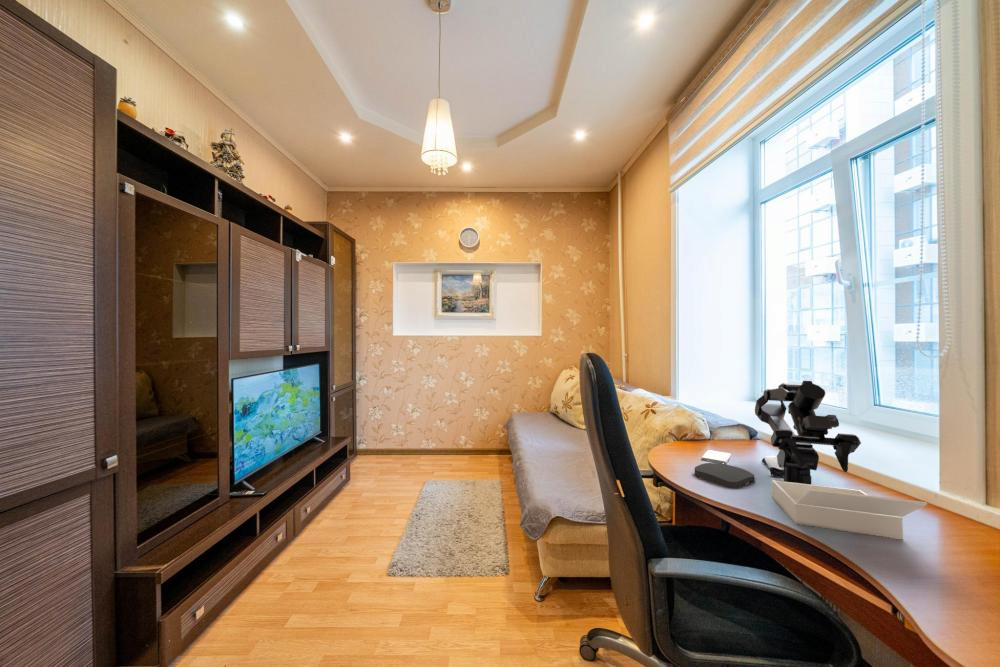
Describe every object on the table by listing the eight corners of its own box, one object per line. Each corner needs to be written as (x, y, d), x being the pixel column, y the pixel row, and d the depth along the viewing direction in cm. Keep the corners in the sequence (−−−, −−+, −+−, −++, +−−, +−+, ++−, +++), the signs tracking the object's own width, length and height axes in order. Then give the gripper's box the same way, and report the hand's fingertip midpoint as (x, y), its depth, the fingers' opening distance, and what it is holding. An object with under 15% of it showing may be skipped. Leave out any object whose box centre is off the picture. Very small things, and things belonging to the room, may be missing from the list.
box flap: (796, 501, 88) (809, 488, 81) (901, 515, 81) (926, 502, 74) (796, 503, 88) (810, 490, 81) (902, 517, 81) (927, 504, 74)
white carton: (772, 497, 103) (771, 480, 103) (861, 508, 96) (860, 490, 96) (795, 524, 88) (795, 503, 88) (903, 539, 81) (902, 517, 81)
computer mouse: (782, 463, 132) (782, 452, 133) (807, 481, 115) (807, 469, 115) (751, 460, 136) (751, 450, 136) (771, 478, 118) (771, 466, 118)
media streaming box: (689, 475, 121) (689, 466, 121) (715, 468, 128) (714, 459, 128) (734, 491, 108) (734, 481, 108) (759, 482, 115) (759, 472, 115)
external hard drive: (701, 461, 136) (707, 453, 145) (726, 466, 130) (731, 457, 140) (701, 457, 136) (707, 449, 145) (726, 461, 130) (731, 453, 140)
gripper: (773, 401, 103) (789, 451, 92) (856, 405, 96) (883, 459, 86) (764, 422, 110) (778, 470, 100) (841, 427, 103) (864, 479, 93)
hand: (824, 469), depth 94 cm, fingers open, 9 cm apart
